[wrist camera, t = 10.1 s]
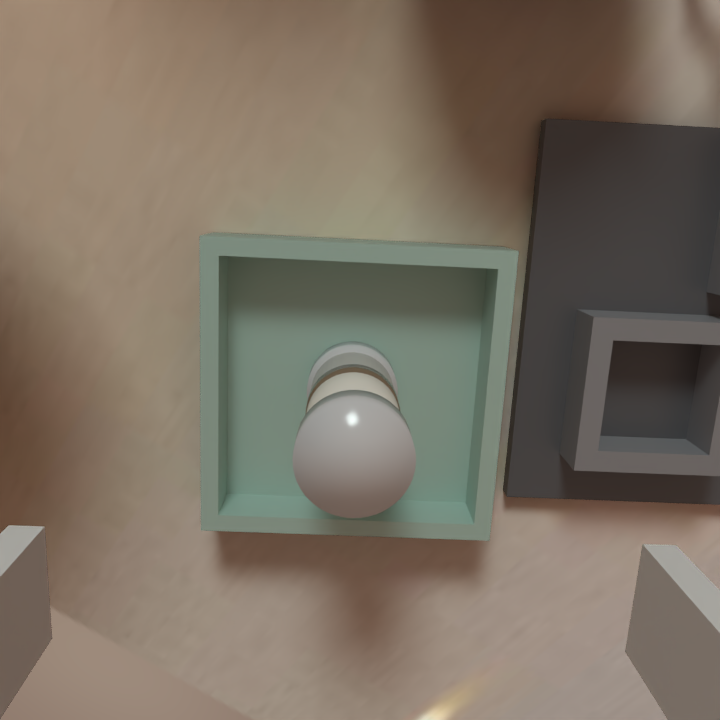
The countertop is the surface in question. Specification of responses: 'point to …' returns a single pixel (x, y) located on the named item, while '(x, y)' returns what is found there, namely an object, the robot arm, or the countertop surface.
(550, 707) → the countertop surface
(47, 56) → the countertop surface
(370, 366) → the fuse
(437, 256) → the parts tray
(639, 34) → the countertop surface
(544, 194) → the block
